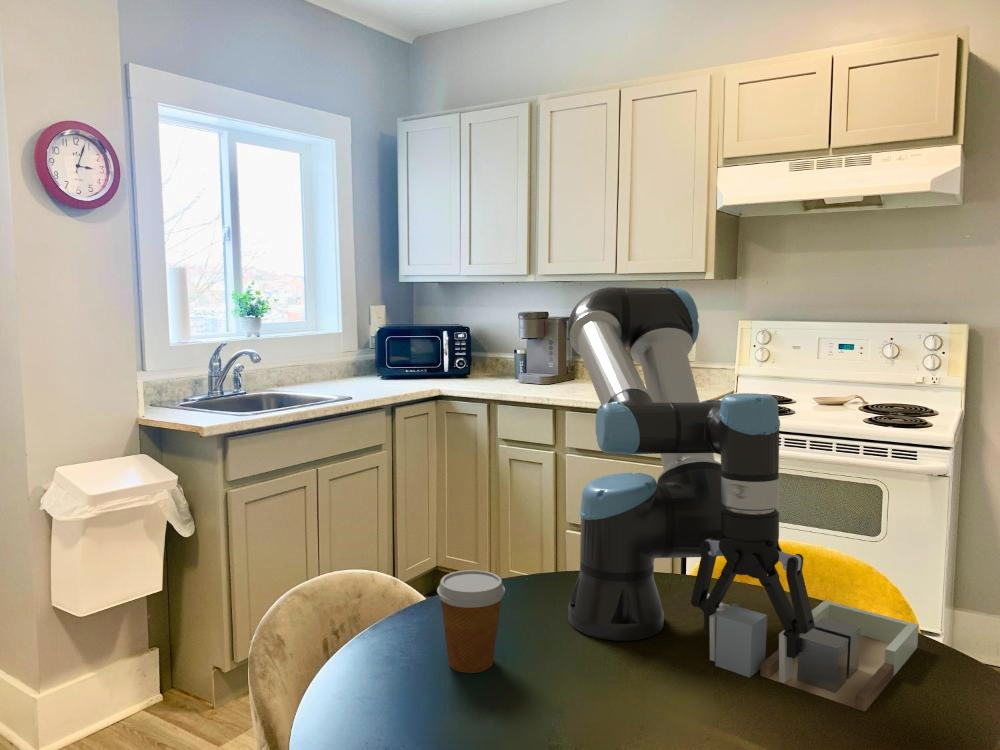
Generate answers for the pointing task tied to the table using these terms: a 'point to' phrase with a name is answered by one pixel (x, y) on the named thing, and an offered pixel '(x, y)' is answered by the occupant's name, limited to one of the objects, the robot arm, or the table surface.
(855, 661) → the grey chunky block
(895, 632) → the tray
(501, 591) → the disposable coffee cup
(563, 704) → the table surface
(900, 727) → the table surface
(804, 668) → the grey squarish block
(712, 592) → the robot arm
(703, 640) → the table surface
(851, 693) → the slot board
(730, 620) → the grey block
